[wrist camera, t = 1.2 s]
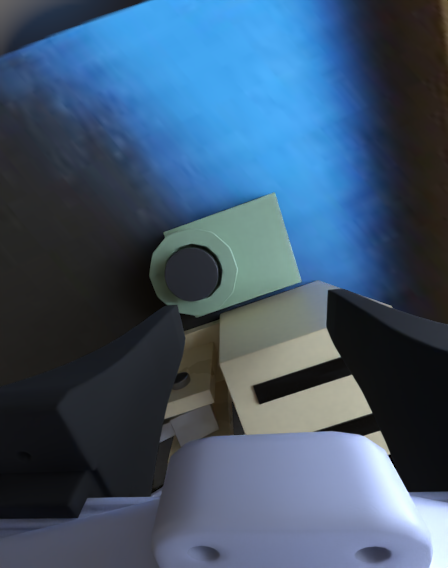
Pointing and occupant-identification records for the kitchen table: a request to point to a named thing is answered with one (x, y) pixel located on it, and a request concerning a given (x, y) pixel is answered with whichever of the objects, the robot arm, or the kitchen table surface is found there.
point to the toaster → (291, 368)
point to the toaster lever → (190, 425)
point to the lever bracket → (201, 381)
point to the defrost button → (191, 274)
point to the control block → (232, 255)
